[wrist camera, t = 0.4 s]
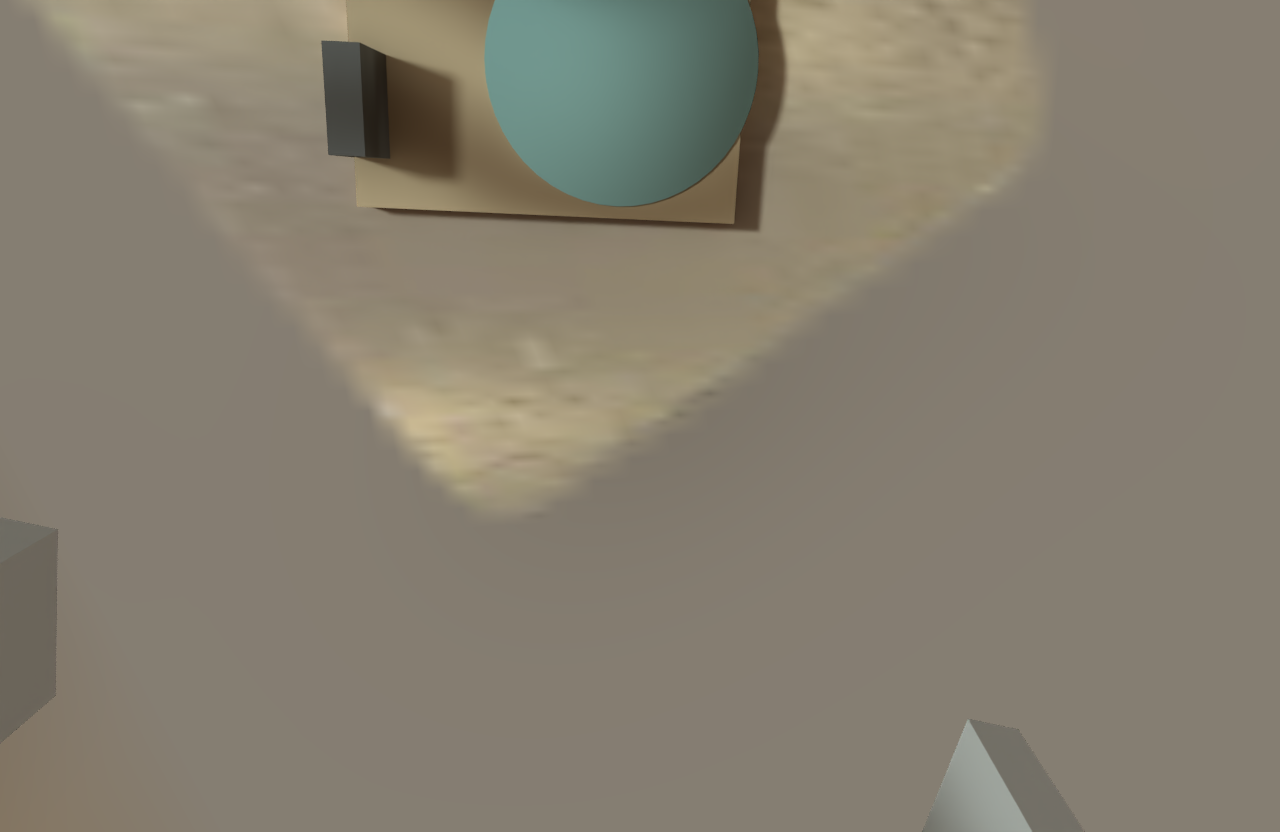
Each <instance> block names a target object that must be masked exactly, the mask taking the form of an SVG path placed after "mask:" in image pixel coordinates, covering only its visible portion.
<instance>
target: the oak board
mask: <svg viewBox="0 0 1280 832" xmlns="http://www.w3.org/2000/svg"><path fill="white" fill-rule="evenodd" d="M494 1H495V0H346V8H347V27H348V42H340V41H322V57H323V73H324V89H325V105H326V122H327V138H328V154H329V155H336V156H348V157H354V159H355V178H356V197H357V207H376V208H398V209H420V210H441V211H463V212H485V213H506V214H528V215H550V216H571V217H593V218H615V219H636V220H658V221H680V222H702V223H723V224H734V217H735V204H736V190H737V177H738V164H739V150H740V137H741V132H740V134H739V135H738V137H737V139H736V141H735V143H734V144H733V145H732V147H731V148H730V149H729V151H728V152H727V154H726V155H725V156H724V158H723V159H722V160H721V161H720V162H719V163H718V164H717V165H716V166H715V167H714V168H713V169H712V170H711V171H710V172H709V173H708V174H707V175H705V176H704V177H703V178H702V179H700V180H699V181H698V182H697V183H695V184H693V185H692V186H690V187H689V188H687V189H685V190H684V191H682V192H680V193H678V194H675V195H673V196H671V197H669V198H666V199H663V200H660V201H656V202H653V203H649V204H643V205H637V206H608V205H599V204H595V203H591V202H587V201H583V200H581V199H578V198H576V197H573V196H571V195H568V194H566V193H564V192H562V191H561V190H559V189H557V188H555V187H553V186H552V185H550V184H549V183H548V182H546V181H545V180H543V179H542V178H541V177H539V176H538V175H537V174H536V173H535V172H534V171H533V170H532V169H531V168H530V167H529V166H528V165H527V164H525V163H524V161H523V160H522V159H521V158H520V156H519V155H518V154H517V153H516V151H515V150H514V149H513V148H512V146H511V144H510V143H509V141H508V140H507V138H506V136H505V135H504V133H503V131H502V129H501V127H500V125H499V122H498V120H497V118H496V116H495V113H494V110H493V107H492V104H491V101H490V98H489V93H488V88H487V82H486V75H485V61H484V56H485V38H486V33H487V27H488V21H489V17H490V14H491V11H492V8H493V4H494ZM748 3H749V6H750V3H751V0H748Z"/></svg>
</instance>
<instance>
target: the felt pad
mask: <svg viewBox="0 0 1280 832" xmlns="http://www.w3.org/2000/svg"><path fill="white" fill-rule="evenodd" d="M758 52H759V51H758V42H757V32H756V28H755V23H754V19H753V15H752V11H751V9H750V6H749V3H748V0H495V1H494V4H493V8H492V11H491V14H490V17H489V21H488V27H487V33H486V38H485V56H484V61H485V75H486V82H487V88H488V93H489V98H490V101H491V104H492V107H493V110H494V113H495V116H496V118H497V120H498V122H499V125H500V127H501V129H502V131H503V133H504V135H505V136H506V138H507V140H508V141H509V143H510V144H511V146H512V148H513V149H514V150H515V151H516V153H517V154H518V155H519V156H520V158H521V159H522V160H523V161H524V163H525V164H527V165H528V166H529V167H530V168H531V169H532V170H533V171H534V172H535V173H536V174H537V175H538V176H539V177H541V178H542V179H543V180H545V181H546V182H548V183H549V184H550V185H552V186H553V187H555V188H557V189H559V190H561V191H562V192H564V193H566V194H568V195H571V196H573V197H576V198H578V199H581V200H583V201H587V202H591V203H595V204H599V205H608V206H637V205H643V204H649V203H653V202H656V201H660V200H663V199H666V198H669V197H671V196H673V195H675V194H678V193H680V192H682V191H684V190H685V189H687V188H689V187H690V186H692V185H693V184H695V183H697V182H698V181H699V180H700V179H702V178H703V177H704V176H705V175H707V174H708V173H709V172H710V171H711V170H712V169H713V168H714V167H715V166H716V165H717V164H718V163H719V162H720V161H721V160H722V159H723V158H724V156H725V155H726V154H727V152H728V151H729V149H730V148H731V147H732V145H733V144H734V143H735V141H736V139H737V137H738V135H739V134H740V132H741V130H742V128H743V126H744V124H745V121H746V119H747V116H748V114H749V111H750V109H751V105H752V101H753V98H754V94H755V90H756V83H757V76H758Z"/></svg>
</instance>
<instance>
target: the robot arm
mask: <svg viewBox="0 0 1280 832" xmlns="http://www.w3.org/2000/svg"><path fill="white" fill-rule="evenodd" d="M57 548H58V529H53V528H49V527H44V526H39V525H35V524H30V523H25V522H20V521H15V520H11V519H6V518H0V743H1V742H3V741H4V740H5V739H6V738H7V737H8V736H9V735H11V734H12V733H13V732H14V731H15V730H17V729H18V728H19V727H20V726H21V725H22V724H23V723H25V722H26V721H27V720H28V719H29V718H30V717H31V716H33V715H34V714H35V713H36V712H37V711H38V710H40V709H41V708H42V707H43V706H44V705H45V704H47V703H48V702H49V701H50V700H51V699H52V698H53V697H55V694H56V693H55V692H56V620H57ZM922 832H1085V831H1084V830H1083V828H1082V827H1081V825H1080V823H1079V822H1078V820H1077V819H1076V817H1075V816H1074V814H1073V813H1072V811H1071V810H1070V808H1069V807H1068V805H1067V804H1066V802H1065V800H1064V799H1063V797H1062V796H1061V794H1060V793H1059V791H1058V790H1057V788H1056V786H1055V785H1054V784H1053V782H1052V780H1051V779H1050V777H1049V776H1048V774H1047V773H1046V771H1045V770H1044V768H1043V767H1042V765H1041V764H1040V762H1039V760H1038V759H1037V757H1036V756H1035V754H1034V753H1033V751H1032V750H1031V748H1030V747H1029V745H1028V743H1027V742H1026V740H1025V739H1024V737H1023V736H1022V734H1021V733H1020V731H1019V730H1018V729H1014V728H1009V727H1005V726H1000V725H995V724H990V723H986V722H981V721H976V720H971V719H968V720H967V723H966V725H965V727H964V730H963V732H962V735H961V737H960V740H959V743H958V745H957V747H956V750H955V752H954V755H953V757H952V759H951V762H950V764H949V767H948V769H947V772H946V774H945V777H944V779H943V782H942V784H941V786H940V789H939V792H938V794H937V796H936V799H935V801H934V804H933V806H932V809H931V811H930V813H929V816H928V819H927V821H926V824H925V826H924V828H923V831H922Z"/></svg>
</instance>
